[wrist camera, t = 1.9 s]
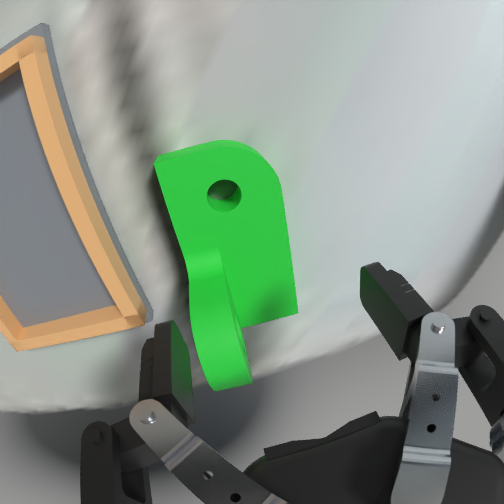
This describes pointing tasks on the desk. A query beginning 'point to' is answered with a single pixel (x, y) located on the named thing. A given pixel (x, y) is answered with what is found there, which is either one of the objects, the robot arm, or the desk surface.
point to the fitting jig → (53, 215)
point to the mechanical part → (229, 250)
